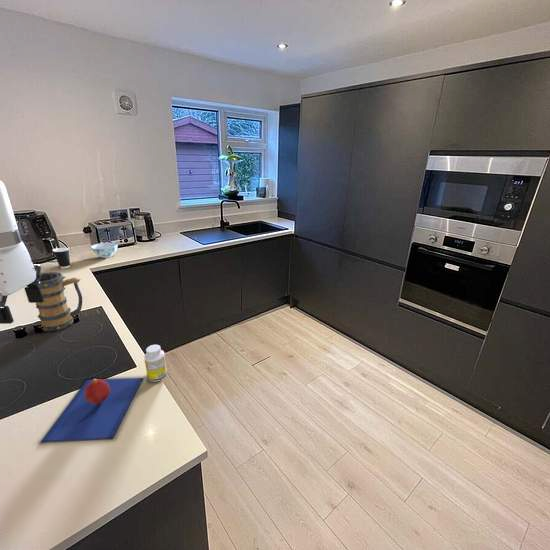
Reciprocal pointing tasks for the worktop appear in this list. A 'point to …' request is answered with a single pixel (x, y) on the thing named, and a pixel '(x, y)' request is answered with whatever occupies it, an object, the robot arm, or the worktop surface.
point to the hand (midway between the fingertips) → (22, 311)
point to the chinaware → (105, 249)
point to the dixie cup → (62, 257)
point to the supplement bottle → (155, 363)
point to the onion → (97, 391)
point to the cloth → (95, 413)
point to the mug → (56, 302)
